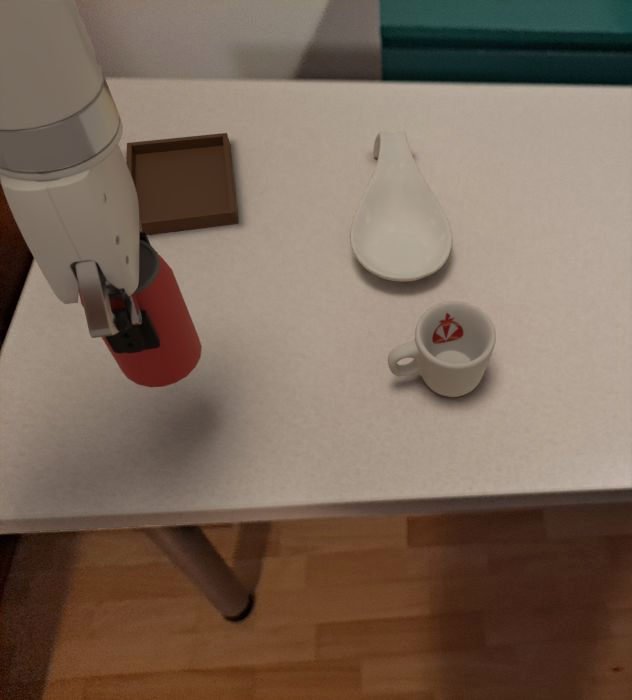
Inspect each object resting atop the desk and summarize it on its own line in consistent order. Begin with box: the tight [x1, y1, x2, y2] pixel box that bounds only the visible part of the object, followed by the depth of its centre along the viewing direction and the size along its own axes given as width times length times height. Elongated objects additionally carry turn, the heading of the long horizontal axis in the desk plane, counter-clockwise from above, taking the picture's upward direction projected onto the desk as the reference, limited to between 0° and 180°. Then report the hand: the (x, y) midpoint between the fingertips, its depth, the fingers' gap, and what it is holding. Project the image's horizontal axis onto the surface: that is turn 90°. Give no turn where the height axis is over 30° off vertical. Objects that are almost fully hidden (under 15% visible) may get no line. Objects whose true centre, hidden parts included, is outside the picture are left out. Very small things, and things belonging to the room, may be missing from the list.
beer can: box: [78, 240, 203, 388], centre depth 53 cm, size 7×7×12 cm
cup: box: [387, 300, 497, 398], centre depth 70 cm, size 11×8×8 cm
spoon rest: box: [349, 131, 453, 282], centre depth 82 cm, size 24×12×7 cm, turn 8°
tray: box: [126, 132, 239, 236], centre depth 85 cm, size 12×14×2 cm
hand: (137, 307), depth 53 cm, fingers closed on beer can, 6 cm apart
